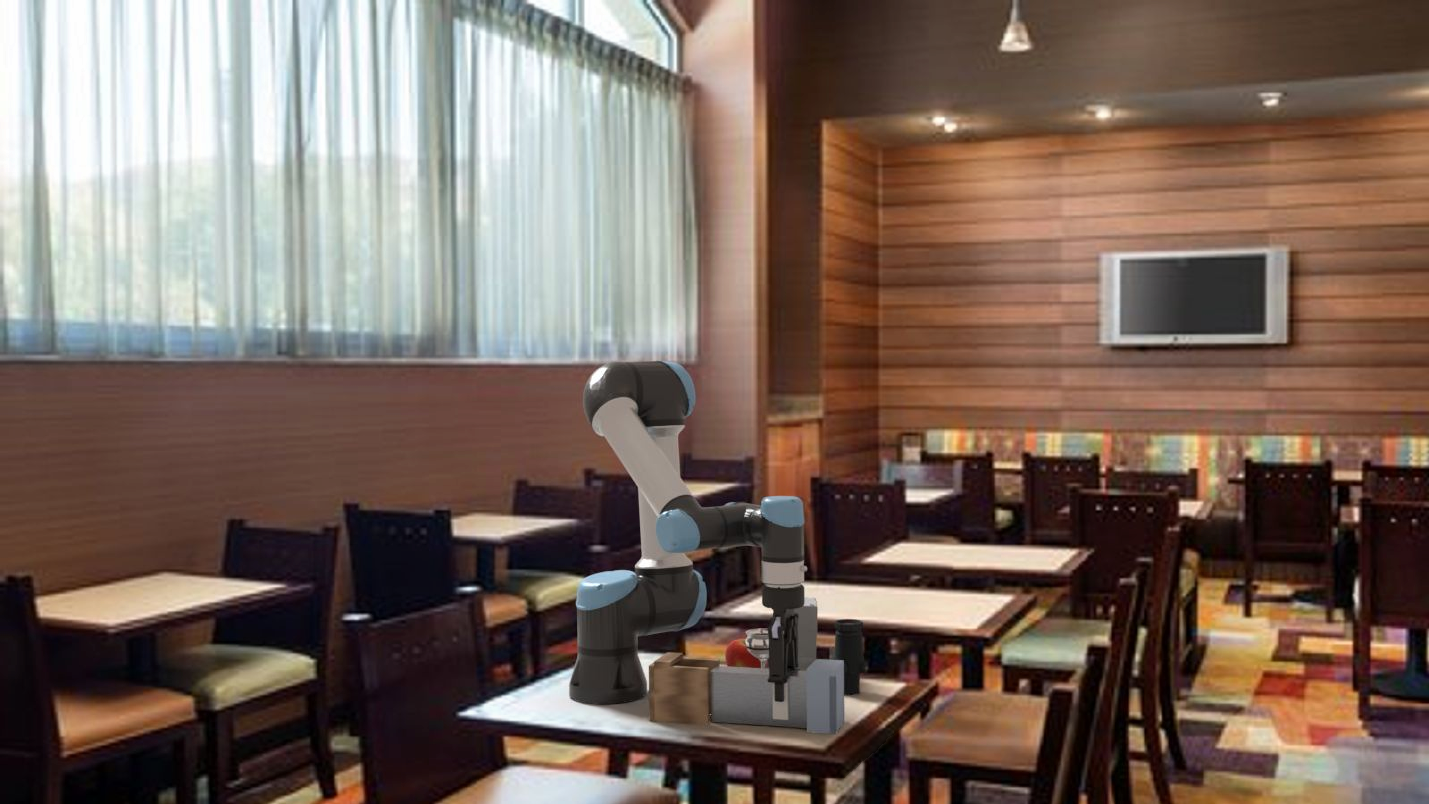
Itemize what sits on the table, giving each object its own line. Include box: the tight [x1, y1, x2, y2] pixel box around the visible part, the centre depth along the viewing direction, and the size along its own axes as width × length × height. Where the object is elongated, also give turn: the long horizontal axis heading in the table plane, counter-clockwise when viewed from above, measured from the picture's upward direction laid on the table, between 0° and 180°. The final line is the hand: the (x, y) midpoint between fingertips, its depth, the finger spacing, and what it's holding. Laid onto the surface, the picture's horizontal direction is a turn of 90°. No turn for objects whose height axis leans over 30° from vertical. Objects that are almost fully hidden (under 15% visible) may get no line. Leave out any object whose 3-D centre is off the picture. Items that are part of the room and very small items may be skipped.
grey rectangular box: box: [710, 665, 807, 729], centre depth 235 cm, size 21×5×9 cm, turn 74°
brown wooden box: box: [648, 651, 721, 726], centre depth 239 cm, size 11×8×11 cm
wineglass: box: [745, 628, 769, 669], centre depth 256 cm, size 7×7×12 cm
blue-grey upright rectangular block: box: [806, 658, 845, 735], centre depth 232 cm, size 5×8×11 cm, turn 164°
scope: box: [825, 618, 870, 696], centre depth 256 cm, size 8×14×10 cm
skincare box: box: [794, 596, 819, 671], centre depth 269 cm, size 8×7×16 cm
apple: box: [724, 635, 761, 668], centre depth 266 cm, size 8×8×10 cm
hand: (784, 714), depth 234 cm, fingers closed on grey rectangular box, 4 cm apart
